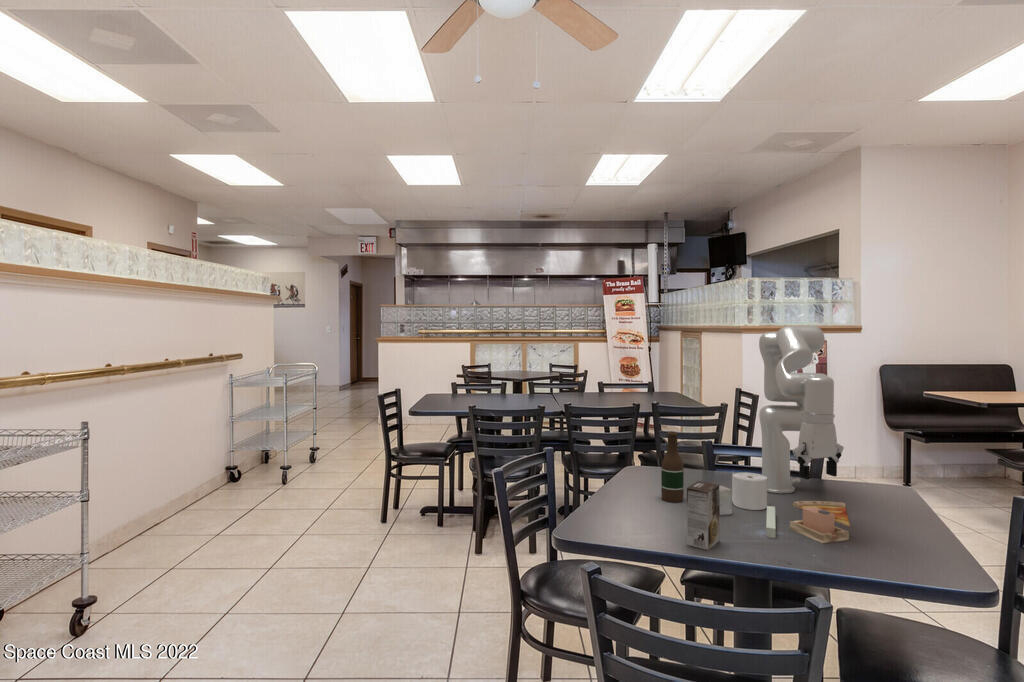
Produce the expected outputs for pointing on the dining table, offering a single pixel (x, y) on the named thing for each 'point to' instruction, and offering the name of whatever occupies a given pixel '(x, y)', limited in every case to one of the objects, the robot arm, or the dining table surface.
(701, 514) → the coffee box
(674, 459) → the beer bottle
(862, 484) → the dining table surface
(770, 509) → the pale green bar
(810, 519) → the block
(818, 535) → the keyed cradle
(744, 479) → the toilet tissue
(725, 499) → the post
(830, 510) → the pizza slice
